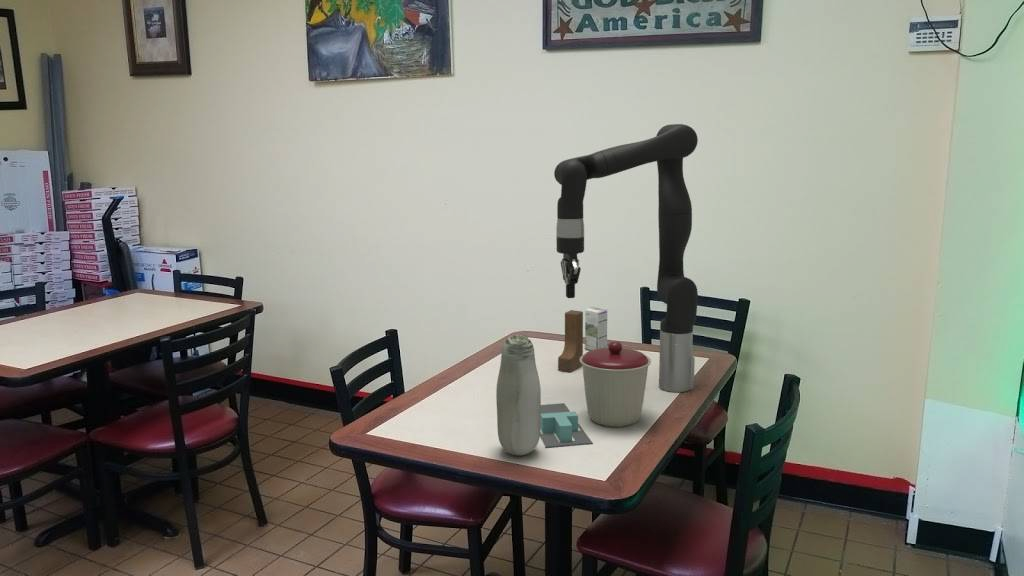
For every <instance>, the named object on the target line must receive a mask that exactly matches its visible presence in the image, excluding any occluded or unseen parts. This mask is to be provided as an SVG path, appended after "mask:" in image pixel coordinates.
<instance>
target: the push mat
mask: <svg viewBox="0 0 1024 576" xmlns="http://www.w3.org/2000/svg"><path fill="white" fill-rule="evenodd" d="M559 412H571V411H570V409H569V408H568V406H567V405H566V404H565V403H551V404H549V403H548V404H541V410H540V414H545V413H559ZM539 439H541V441H542V443H543V445H544V448H545V449H555V448H564V447H565V448H567V447H578V446H587V445H589V446H590V445H593V442H592V440H591V438H590V437H589V435H588V434H587V432H585V430H584V428H583V427H582V426H581V424H580V423H579V422H578V431H572V441H566V442H560V441H559V439H558V438H557V436H556V434H555V433H542V431H541V429H540V438H539Z"/></svg>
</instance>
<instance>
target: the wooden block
mask: <svg viewBox="0 0 1024 576" xmlns="http://www.w3.org/2000/svg"><path fill="white" fill-rule="evenodd" d="M583 323H584V311H582V310H575V309H573V310H572V309H571V310H568V311H566V312H565V313H564V347H563V350H562V352H561V354H560V355H559V356H558V357H557V370H558V371H559V372H564V373H571V372H574V371H575V370H577V369H578V368H581V367H582V364H581V363H580V357H581V356H582V355H584V324H583Z"/></svg>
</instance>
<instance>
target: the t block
mask: <svg viewBox="0 0 1024 576" xmlns="http://www.w3.org/2000/svg"><path fill="white" fill-rule="evenodd" d="M578 423H579V415H578V413H577V411H570V412H559V413H545V414H540V429H541V431H542V433H555V434H556V436H557V438H558V439H559V441H560V442H566V441H572V431H578Z"/></svg>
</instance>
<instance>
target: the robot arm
mask: <svg viewBox="0 0 1024 576" xmlns="http://www.w3.org/2000/svg"><path fill="white" fill-rule="evenodd" d="M697 146H698V134H697V132H696V131H695V129H694V128H692V127H691V126H689V125H687V124H683V123H675V124H674V123H672V124H667V125H664V126H662V127H661V128H660V129H659V130H658V132H657V134H656V135H655V136H654V137H650V138H647V139H644V140H640V141H637V142H631V143H626V144H620V145H617V146H616V145H615V146H612V147H609V148H605V149H602V150H599V151H596V152H592V153H590V154H587V155H581V156H576V157H573V158H569V159H565V160H562V161H560V162H559V163H557V165H556V166H555V168H554V171H553V172H554V173H553V176H554V179H555V181H556V182H557V183H558V184H559V185H561V190H560V197H559V198H558V200H557V204H556V205H557V207H556V208H557V209H556V210H557V211H556V212H557V217H556V218H557V220H556V221H557V222H556V252H557V253H559V254H561V255H563V256H562V258H561V261H560V266H561V272H562V280H563V281H564V284H565V297H566V298H568V299H574V298H575V297H576V284H578V282H579V278H580V275H581V274H580V273H581V270H582V269H581V267H580V260H579V259H578V258H579V257H578V254H582V253H584V252H585V223H584V199H585V194H586V190H587V189H586V188H587V183H588V182H587V181H588V180H592V179H601V178H605V177H609V176H611V175H615V174H618V173H622V172H624V171H627V170H631V169H634V168H636V167H637V168H638V167H640V166H643V165H647V164H650V163H651V164H652V163H654V162H656V166H657V175H658V176H657V177H658V180H657V181H658V188H657V189H658V191H657V193H658V196H657V197H658V209H657V210H658V248H659V249H658V251H659V252H658V253H659V257H658V258H659V259H658V270H657V271H658V273H657V281H656V282H657V284H656V291H657V296H658V298H659V300H660V301H661V302H662V303H664V304H666V313H665V314H666V315H665V317H664V318H663V319H661V321H660V324H659V325H660V326H659V360H658V361H659V363H658V364H659V367H658V368H659V369H658V370H659V371H658V388H660V389H661V390H662V391H665V392H672V393H681V392H682V393H683V392H688V391H690V390H695V389H694V388H695V362H696V360H695V359H696V358H695V357H694V356H693V341H694V340H693V337H694V336H693V335H694V334H693V333H694V332H693V331H694V325H695V323H696V321H697V320H696V319H697V312H698V301H699V299H698V298H699V296H698V295H699V294H698V293H699V292H698V287H697V285H696V283H695V281H693V280H692V279H691V278H689V277H686V276H685V272H684V270H685V269H684V256H685V252H686V248H687V244H688V243H689V240H690V238H691V234H692V229H693V228H692V226H693V208H692V200H691V198H690V194H689V192H688V188H687V186H686V182H685V177H684V170H683V169H684V164H683V163H684V158H686V157H689V156H690V155H692V153H694V152H695V150H696V148H697Z"/></svg>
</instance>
